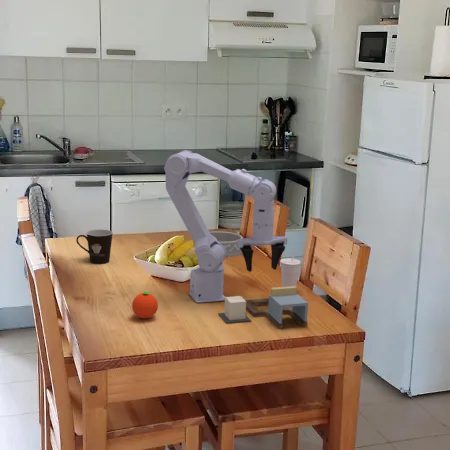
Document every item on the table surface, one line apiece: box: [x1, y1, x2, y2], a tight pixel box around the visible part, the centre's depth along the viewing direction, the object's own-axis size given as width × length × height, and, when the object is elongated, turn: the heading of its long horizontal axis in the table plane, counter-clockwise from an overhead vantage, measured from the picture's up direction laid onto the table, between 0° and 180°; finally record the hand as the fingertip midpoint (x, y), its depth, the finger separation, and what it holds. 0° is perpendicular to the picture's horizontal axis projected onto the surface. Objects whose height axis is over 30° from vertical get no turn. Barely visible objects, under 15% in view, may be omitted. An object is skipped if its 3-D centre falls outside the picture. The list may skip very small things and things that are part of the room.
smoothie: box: [279, 247, 302, 288], centre depth 214 cm, size 6×6×14 cm
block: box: [223, 295, 247, 320], centre depth 192 cm, size 4×4×5 cm
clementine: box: [131, 291, 159, 319], centre depth 190 cm, size 8×7×7 cm
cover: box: [267, 286, 309, 324], centre depth 190 cm, size 8×8×7 cm
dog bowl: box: [209, 230, 244, 258], centre depth 257 cm, size 17×18×5 cm
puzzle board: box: [244, 297, 308, 330], centre depth 197 cm, size 15×20×1 cm
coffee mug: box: [75, 229, 114, 265], centre depth 237 cm, size 12×9×10 cm
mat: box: [218, 312, 252, 325], centre depth 193 cm, size 7×7×1 cm
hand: (261, 269), depth 202 cm, fingers open, 7 cm apart
